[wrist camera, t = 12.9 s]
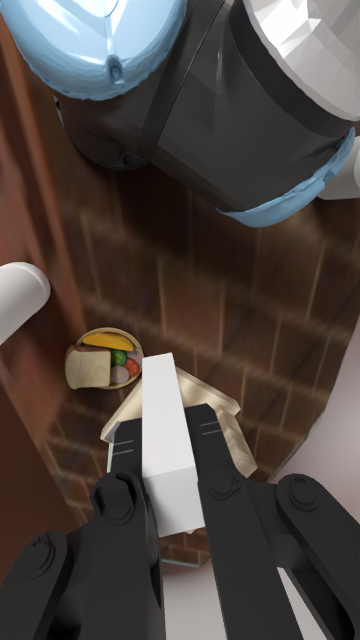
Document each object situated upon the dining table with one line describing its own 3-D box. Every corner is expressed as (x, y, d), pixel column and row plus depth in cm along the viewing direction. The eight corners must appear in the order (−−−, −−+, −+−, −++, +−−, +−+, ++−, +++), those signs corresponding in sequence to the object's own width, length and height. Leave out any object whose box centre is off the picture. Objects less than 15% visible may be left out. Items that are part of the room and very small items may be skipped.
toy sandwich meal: (136, 389, 53) (136, 405, 48) (64, 379, 50) (56, 395, 45) (150, 332, 48) (151, 344, 44) (72, 318, 46) (64, 329, 41)
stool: (102, 429, 55) (88, 506, 40) (158, 356, 50) (164, 413, 36) (180, 463, 61) (192, 539, 47) (236, 401, 56) (268, 465, 42)
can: (341, 203, 44) (408, 200, 33) (300, 196, 43) (355, 190, 32) (358, 151, 41) (437, 128, 30) (315, 141, 40) (380, 114, 29)
